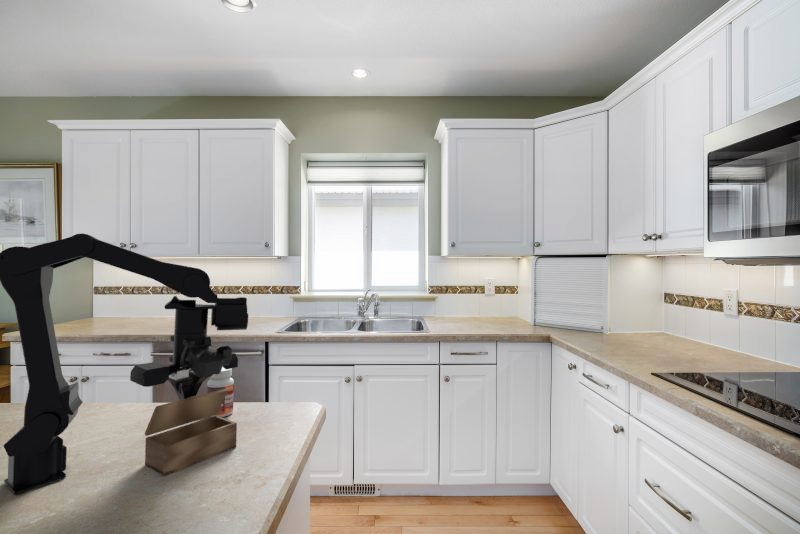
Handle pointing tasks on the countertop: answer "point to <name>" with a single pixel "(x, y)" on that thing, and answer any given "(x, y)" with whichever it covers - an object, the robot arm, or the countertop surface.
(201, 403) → the lid
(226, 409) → the pill bottle
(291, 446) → the countertop surface
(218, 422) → the box
